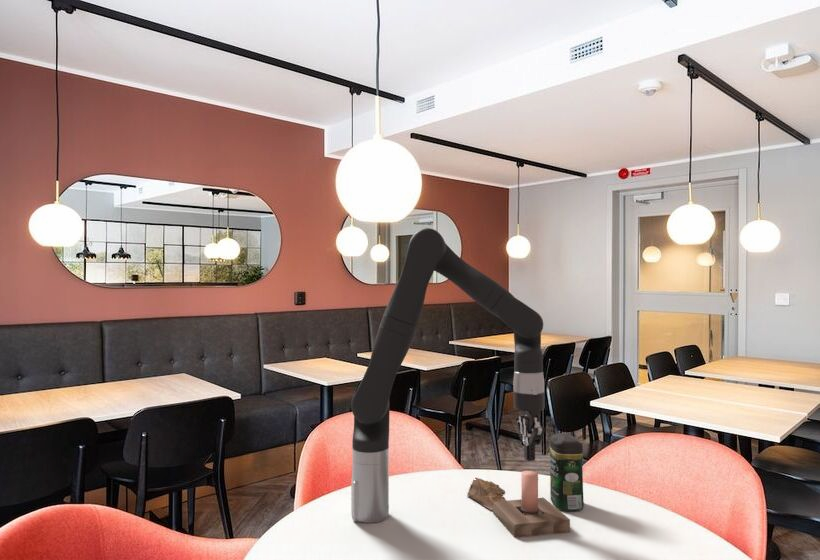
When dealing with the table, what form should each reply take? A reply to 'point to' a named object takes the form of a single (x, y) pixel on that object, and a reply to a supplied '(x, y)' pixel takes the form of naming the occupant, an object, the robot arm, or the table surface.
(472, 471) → the table surface
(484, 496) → the wooden fragment
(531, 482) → the terracotta leg
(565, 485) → the coffee jar
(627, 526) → the table surface
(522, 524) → the walnut board
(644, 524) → the table surface
